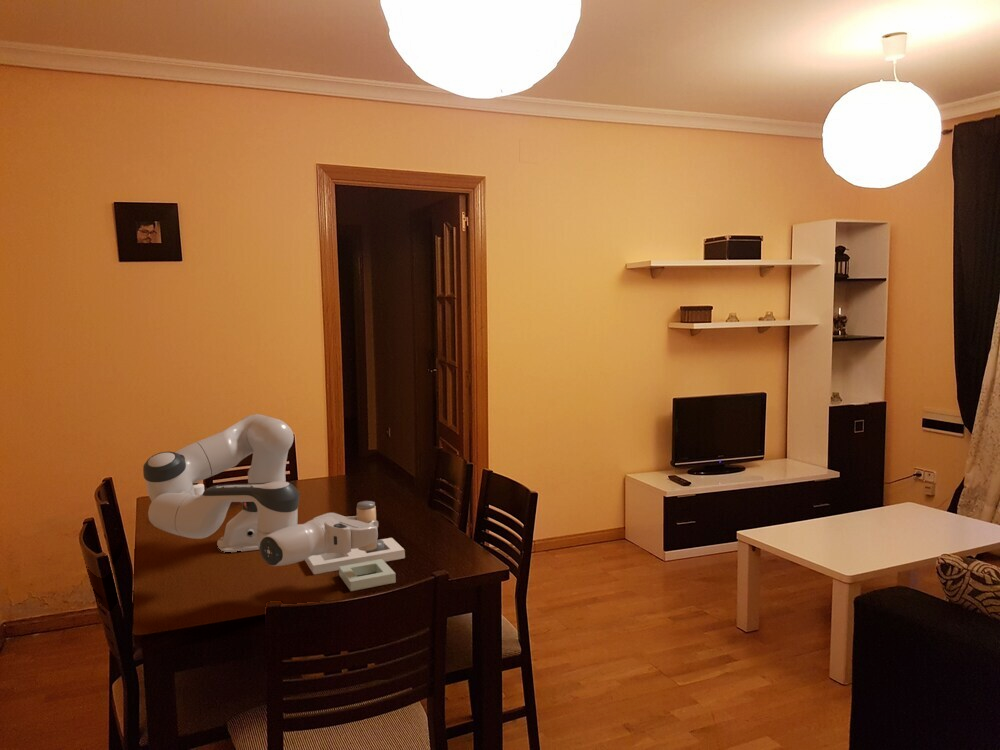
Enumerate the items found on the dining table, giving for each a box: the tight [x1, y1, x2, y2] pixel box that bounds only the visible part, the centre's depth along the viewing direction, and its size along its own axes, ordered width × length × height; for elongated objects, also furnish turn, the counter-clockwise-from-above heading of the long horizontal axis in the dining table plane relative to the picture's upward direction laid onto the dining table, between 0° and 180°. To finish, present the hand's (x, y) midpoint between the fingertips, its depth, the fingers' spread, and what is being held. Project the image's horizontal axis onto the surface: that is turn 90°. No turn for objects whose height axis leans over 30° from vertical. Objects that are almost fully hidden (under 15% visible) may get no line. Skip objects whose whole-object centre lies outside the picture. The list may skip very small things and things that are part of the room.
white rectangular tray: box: [304, 537, 406, 575], centre depth 206 cm, size 26×12×4 cm, turn 116°
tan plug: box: [355, 500, 378, 551], centre depth 190 cm, size 5×5×12 cm
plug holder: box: [338, 559, 397, 592], centre depth 192 cm, size 12×12×2 cm
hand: (369, 520), depth 191 cm, fingers closed on tan plug, 5 cm apart
